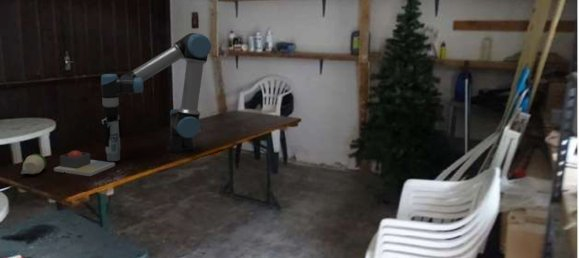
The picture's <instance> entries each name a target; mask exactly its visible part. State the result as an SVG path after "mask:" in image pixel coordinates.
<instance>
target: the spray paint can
mask: <svg viewBox="0 0 579 258" xmlns="http://www.w3.org/2000/svg"><path fill="white" fill-rule="evenodd" d="M110 126H111V127H110ZM107 127H110V139H109V140H111V153H106V160H107V162H118V161H120V160H121V142H120V143H119V121H118V120H116V121H113V122H107Z"/></svg>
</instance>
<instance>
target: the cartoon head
mask: <svg viewBox="0 0 579 258" xmlns="http://www.w3.org/2000/svg"><path fill="white" fill-rule="evenodd" d="M46 166H47V161H46V158H45V157H44V156H43V155H42V154H39V153H33V154H30V155H29V156H27V157H26V158H25V160H24V161H23V164H22V167H21V172H20V175H24V174H26V175H27V174H28V175H35V174H37V175H38V174H39V173H41V172H42V171H43V170H44V169H45V168H46Z"/></svg>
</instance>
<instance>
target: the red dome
mask: <svg viewBox="0 0 579 258" xmlns="http://www.w3.org/2000/svg"><path fill="white" fill-rule="evenodd" d="M68 153H69V154H68ZM68 153H67V154H68V156H67V157H73V158H78V157H80V156H83V155H82V153H83V152H82V153H81V151H79V150H71V151H70V152H68Z"/></svg>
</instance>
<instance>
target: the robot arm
mask: <svg viewBox="0 0 579 258" xmlns="http://www.w3.org/2000/svg"><path fill="white" fill-rule="evenodd" d="M211 43H212V42H211V41H210V39H209V38H208V37H207V35H204V34H202V33H197V32H196V33H195V32H192V33H188V34H186V35H184V36H183V37H182V38H180V39H178V40H177V41H176V42H174V43H173V44H172V46H171V47H170V48H168V49H167V50H165V51H163V52H161V53H160V54H158V55H156V56H155V57H153V58H152V59H150V60H148V61H146V62H145V63H143V64H141V65H140V66H138V67H136V68H134V69H133V70H131V71H130V72H128V73H126V74H123V75H122V76H121V77H118V74H116V73H106V74H102V75H101V77H100V87H101V89H100V90H101V99H102V100H101V102H102V103H101V104H102V113H103V115H104V119H100V125H101V127H100V130H101V131H100V139H101V140H102V141H104V146H105V153H106V154H107V153H111V140H109V139H110V127H111V126H110V127H107V122H113V121H116V120H118V121H119V143H120V144H121V137H123V134H124V130H123V124H122V123H123V121H122V119H123V116H122V115H119V113H120V106H119V104H120V102H119V94H138V93H143V92H144V82H145V81H146V80H148V79H149V78H151V77H153V76H155V75H156V74H158V73H160V72H161V71H163V70H164V69H167V68H168V67H170V66H171V65H173V64H175V63H176V62H178V61H179V60H185V61H186V64H185V73H184V82H183V89H182V97H181V104H180V107H179V108H173V109H171V110H170V111H169V112H170V113H169V116H170V120H169V123H170V128H169V129H170V137H169V139H168V144H167V151H168V152H172V153H177V154H178V152H181V153H182V152H184V153H191V152H194V151H196V144H195V140H194V137H195V136H197V135H198V134H199V132H200V130H201V123H200V114H201V112H200V111H199V110H198V109H199V108H198V107H199V100H200V93H201V84H202V79H203V72H204V71H203V70H204V65H205V64H206V63H207V62H208V55H209V54H210V52H211V51H212V44H211Z"/></svg>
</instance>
